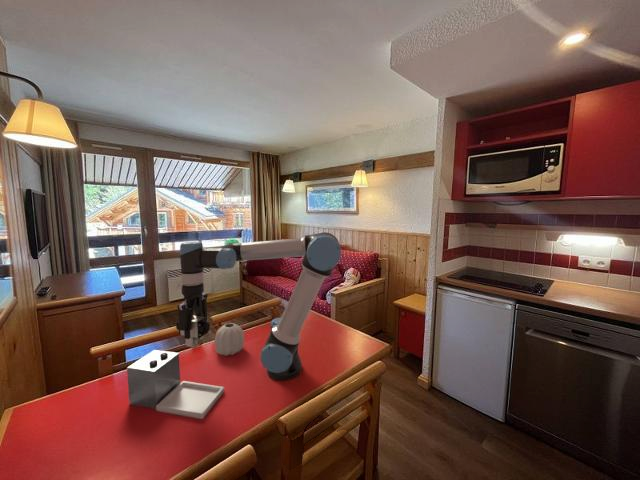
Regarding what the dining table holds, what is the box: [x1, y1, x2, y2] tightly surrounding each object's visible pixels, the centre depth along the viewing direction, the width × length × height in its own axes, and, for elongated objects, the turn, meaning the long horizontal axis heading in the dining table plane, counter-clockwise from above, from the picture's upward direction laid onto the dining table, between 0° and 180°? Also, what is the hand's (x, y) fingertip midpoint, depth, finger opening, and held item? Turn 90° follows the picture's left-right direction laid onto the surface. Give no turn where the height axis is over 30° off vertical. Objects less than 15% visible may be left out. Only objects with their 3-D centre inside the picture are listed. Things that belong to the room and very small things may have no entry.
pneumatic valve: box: [175, 314, 211, 349], centre depth 101 cm, size 6×12×12 cm, turn 75°
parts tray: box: [155, 380, 225, 420], centre depth 97 cm, size 18×14×2 cm
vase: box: [214, 322, 245, 357], centre depth 130 cm, size 14×14×13 cm
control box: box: [126, 349, 181, 410], centre depth 98 cm, size 11×12×15 cm
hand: (194, 341), depth 102 cm, fingers closed on pneumatic valve, 5 cm apart
